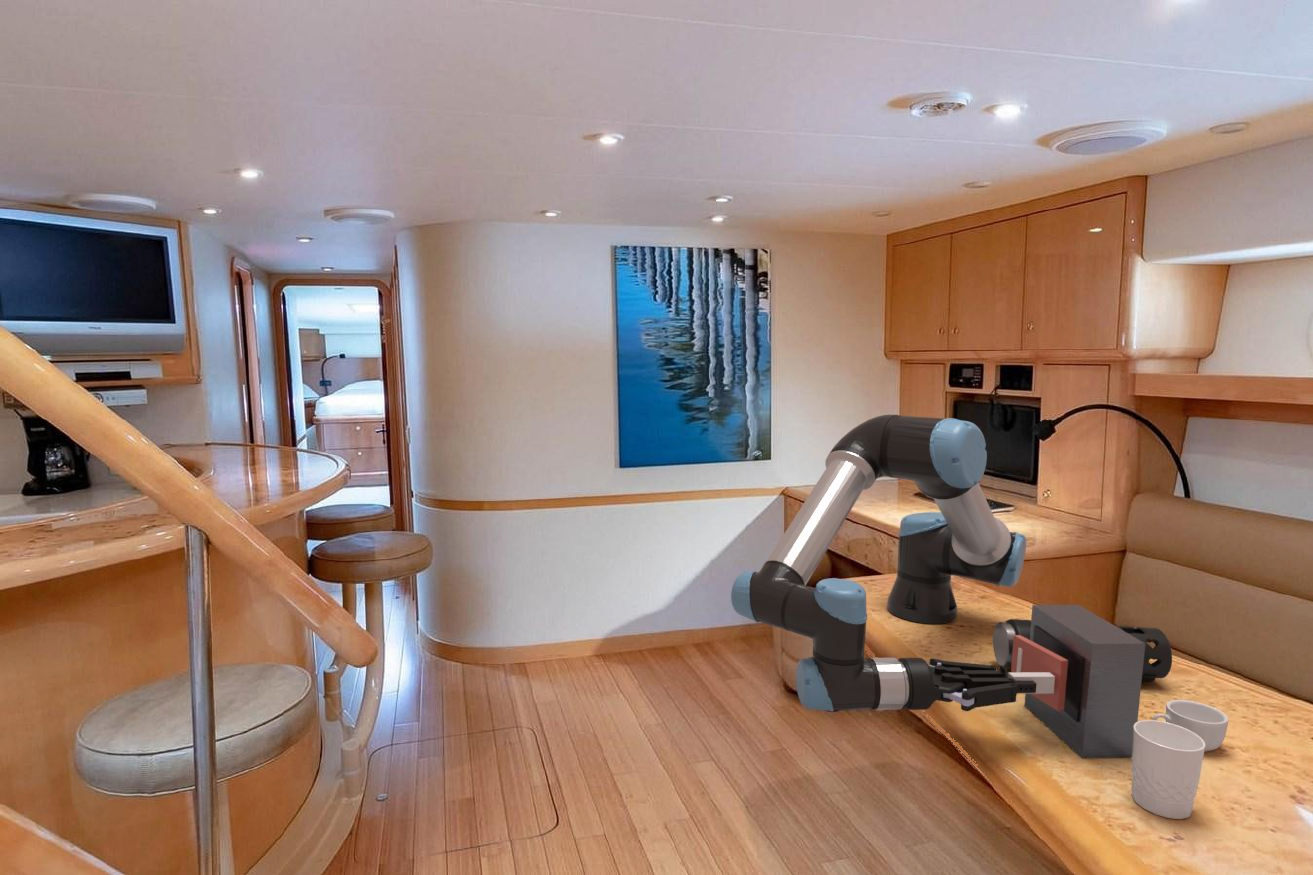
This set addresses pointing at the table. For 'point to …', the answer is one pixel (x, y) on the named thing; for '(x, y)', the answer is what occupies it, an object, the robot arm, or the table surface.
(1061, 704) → the rocker
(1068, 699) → the switch box
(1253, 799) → the table surface
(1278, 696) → the table surface
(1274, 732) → the table surface
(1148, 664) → the muzzle brake
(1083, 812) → the table surface
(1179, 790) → the white cup
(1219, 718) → the teacup
